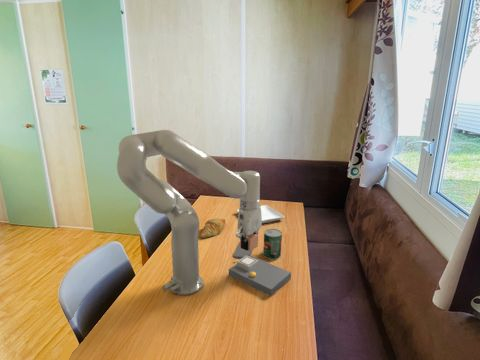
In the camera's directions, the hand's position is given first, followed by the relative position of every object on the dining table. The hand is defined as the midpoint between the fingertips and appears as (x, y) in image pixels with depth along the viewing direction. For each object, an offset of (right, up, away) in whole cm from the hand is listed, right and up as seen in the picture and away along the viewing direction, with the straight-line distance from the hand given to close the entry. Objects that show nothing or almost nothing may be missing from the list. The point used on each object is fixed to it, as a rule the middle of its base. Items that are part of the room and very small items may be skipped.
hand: (248, 246), depth 123 cm
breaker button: (-1, -8, +2) cm, 9 cm away
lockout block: (0, 0, 0) cm, 0 cm away
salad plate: (+8, +4, +57) cm, 58 cm away
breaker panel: (+4, -12, -1) cm, 13 cm away
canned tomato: (+11, -8, +17) cm, 21 cm away
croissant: (-17, -1, +39) cm, 43 cm away
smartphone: (-2, -7, +20) cm, 21 cm away
